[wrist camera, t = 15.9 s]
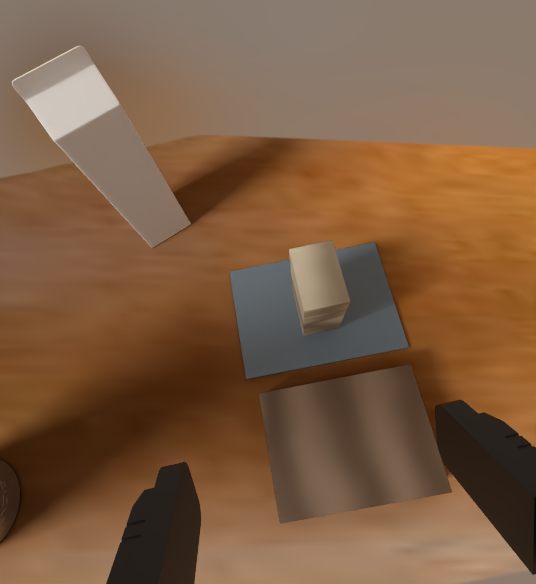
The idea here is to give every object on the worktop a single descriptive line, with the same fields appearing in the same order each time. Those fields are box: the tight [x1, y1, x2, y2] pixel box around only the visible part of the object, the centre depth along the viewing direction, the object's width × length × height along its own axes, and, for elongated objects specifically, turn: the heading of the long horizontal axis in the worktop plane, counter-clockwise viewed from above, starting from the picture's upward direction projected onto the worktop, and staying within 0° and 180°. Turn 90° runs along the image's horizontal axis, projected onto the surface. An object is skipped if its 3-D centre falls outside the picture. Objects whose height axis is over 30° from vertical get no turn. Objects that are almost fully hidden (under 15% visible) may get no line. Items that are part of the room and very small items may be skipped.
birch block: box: [289, 240, 350, 336], centre depth 35 cm, size 4×6×10 cm, turn 11°
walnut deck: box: [259, 364, 452, 524], centre depth 33 cm, size 15×11×4 cm
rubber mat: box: [230, 242, 409, 379], centre depth 40 cm, size 18×13×1 cm
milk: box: [12, 46, 191, 248], centre depth 35 cm, size 6×6×22 cm
